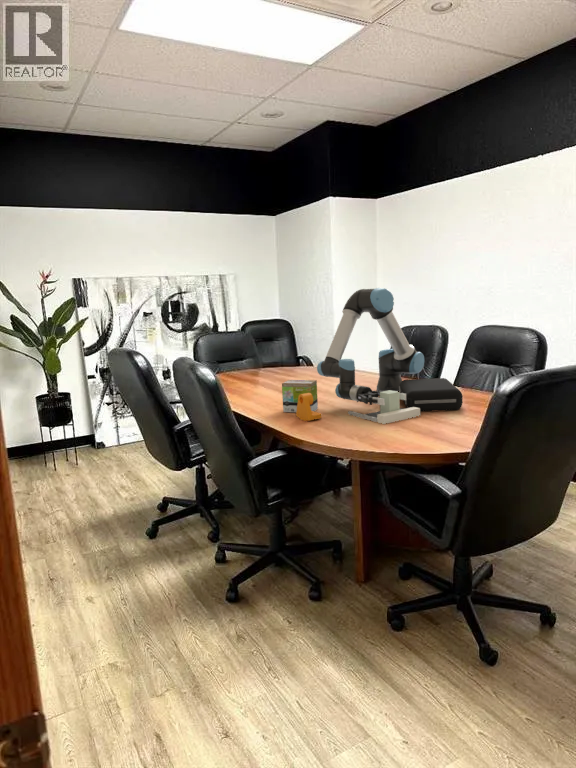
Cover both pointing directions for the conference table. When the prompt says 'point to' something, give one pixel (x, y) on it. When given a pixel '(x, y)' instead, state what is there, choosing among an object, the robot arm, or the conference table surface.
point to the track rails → (363, 416)
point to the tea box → (298, 393)
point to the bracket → (306, 408)
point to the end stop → (398, 415)
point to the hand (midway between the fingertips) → (395, 399)
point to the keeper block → (389, 401)
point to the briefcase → (431, 394)
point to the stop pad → (373, 414)
